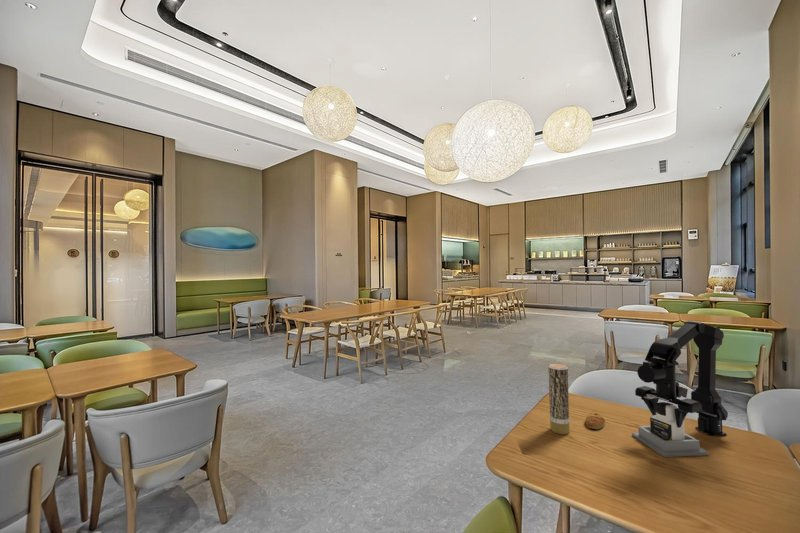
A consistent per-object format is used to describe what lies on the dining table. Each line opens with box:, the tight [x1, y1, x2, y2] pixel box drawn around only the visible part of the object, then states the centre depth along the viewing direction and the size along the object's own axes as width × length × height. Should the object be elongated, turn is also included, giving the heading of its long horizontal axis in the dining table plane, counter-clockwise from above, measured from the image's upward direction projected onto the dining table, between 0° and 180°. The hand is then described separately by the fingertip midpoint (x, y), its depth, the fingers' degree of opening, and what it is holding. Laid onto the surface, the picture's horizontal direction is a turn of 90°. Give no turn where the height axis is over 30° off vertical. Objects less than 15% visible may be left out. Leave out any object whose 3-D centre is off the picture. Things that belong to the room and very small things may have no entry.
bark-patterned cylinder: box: [548, 363, 570, 435], centre depth 134 cm, size 7×7×25 cm
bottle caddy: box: [631, 425, 709, 458], centre depth 122 cm, size 15×15×4 cm
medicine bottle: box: [649, 401, 686, 441], centre depth 122 cm, size 7×7×12 cm
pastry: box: [585, 412, 606, 430], centre depth 138 cm, size 9×7×4 cm
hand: (667, 423), depth 122 cm, fingers closed on medicine bottle, 7 cm apart
